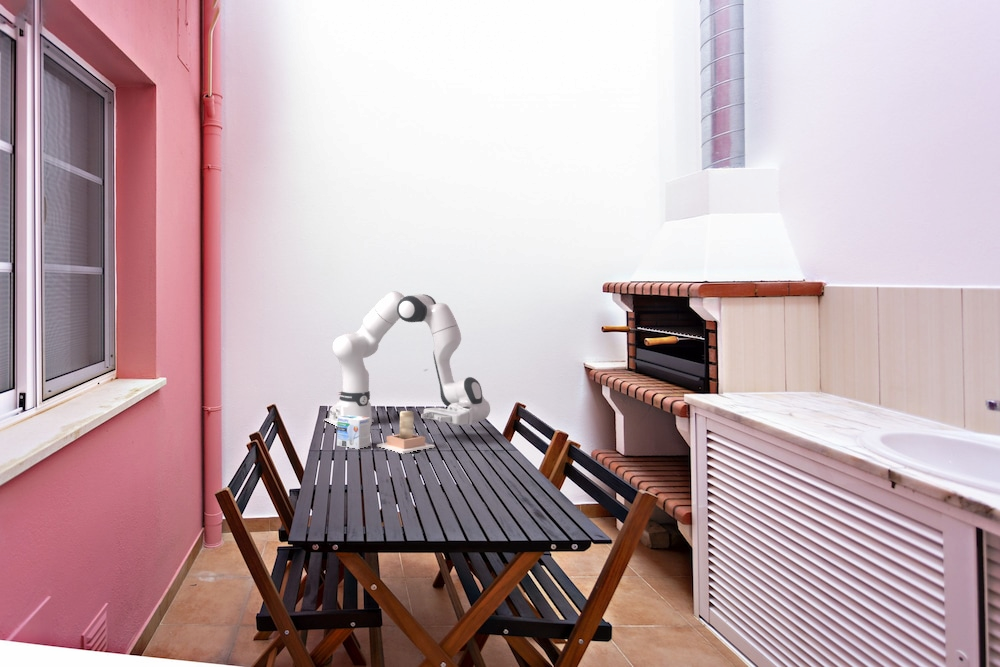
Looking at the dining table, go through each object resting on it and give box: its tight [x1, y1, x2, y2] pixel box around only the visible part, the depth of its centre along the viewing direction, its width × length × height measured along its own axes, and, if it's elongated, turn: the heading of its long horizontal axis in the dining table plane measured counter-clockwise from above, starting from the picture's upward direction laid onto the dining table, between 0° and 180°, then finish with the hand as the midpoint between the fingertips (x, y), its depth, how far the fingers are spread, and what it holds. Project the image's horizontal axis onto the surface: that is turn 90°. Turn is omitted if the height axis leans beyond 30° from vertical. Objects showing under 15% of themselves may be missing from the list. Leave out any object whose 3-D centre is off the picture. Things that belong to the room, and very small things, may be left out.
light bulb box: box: [336, 415, 372, 450], centre depth 260 cm, size 11×7×11 cm, turn 62°
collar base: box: [376, 433, 436, 455], centre depth 261 cm, size 15×15×4 cm
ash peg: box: [399, 410, 415, 439], centre depth 261 cm, size 5×5×12 cm
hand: (430, 418), depth 269 cm, fingers open, 8 cm apart
